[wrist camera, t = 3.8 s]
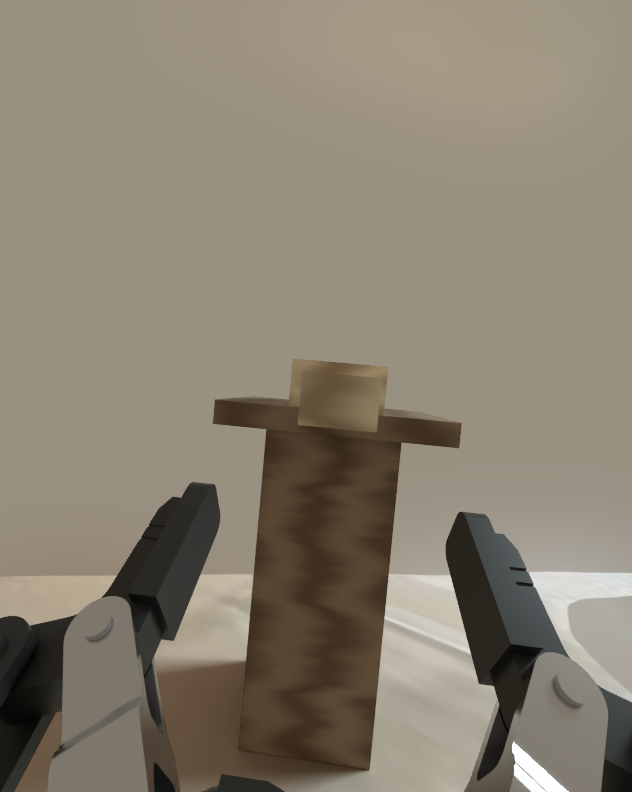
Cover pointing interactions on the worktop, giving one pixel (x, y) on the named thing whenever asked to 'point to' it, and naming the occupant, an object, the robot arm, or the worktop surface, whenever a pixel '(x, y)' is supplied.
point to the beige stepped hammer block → (338, 394)
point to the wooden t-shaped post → (321, 577)
